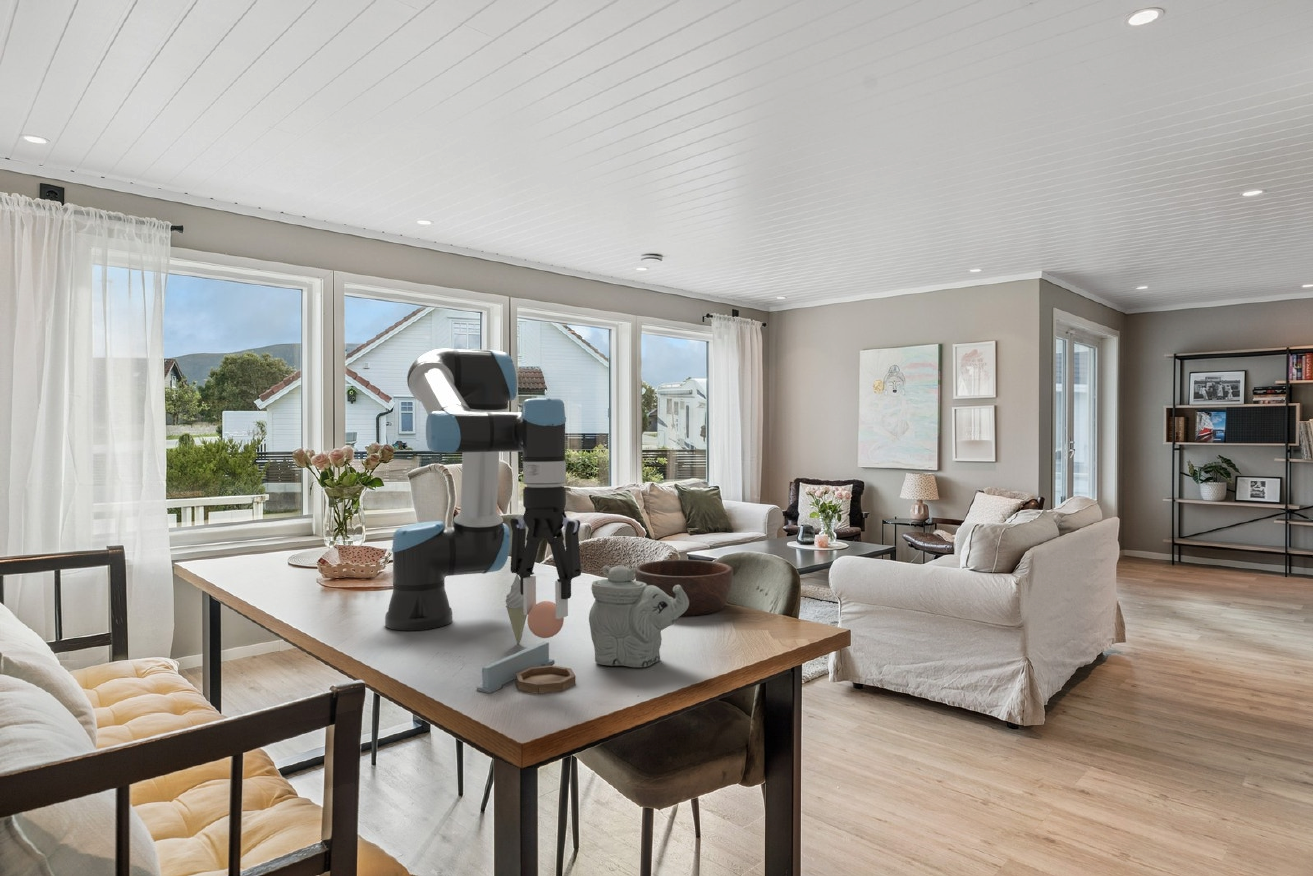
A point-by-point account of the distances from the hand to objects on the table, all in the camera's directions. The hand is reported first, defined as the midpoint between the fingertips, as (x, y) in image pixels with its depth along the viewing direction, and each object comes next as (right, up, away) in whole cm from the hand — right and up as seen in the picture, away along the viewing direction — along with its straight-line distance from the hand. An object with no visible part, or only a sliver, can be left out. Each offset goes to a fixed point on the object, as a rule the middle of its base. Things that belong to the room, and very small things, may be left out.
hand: (545, 615), depth 135 cm
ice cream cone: (-10, -12, +26) cm, 30 cm away
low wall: (-6, -12, +4) cm, 14 cm away
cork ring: (0, -12, 0) cm, 12 cm away
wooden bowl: (+27, -12, +59) cm, 65 cm away
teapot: (+16, -12, +12) cm, 24 cm away
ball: (0, -4, 0) cm, 4 cm away
